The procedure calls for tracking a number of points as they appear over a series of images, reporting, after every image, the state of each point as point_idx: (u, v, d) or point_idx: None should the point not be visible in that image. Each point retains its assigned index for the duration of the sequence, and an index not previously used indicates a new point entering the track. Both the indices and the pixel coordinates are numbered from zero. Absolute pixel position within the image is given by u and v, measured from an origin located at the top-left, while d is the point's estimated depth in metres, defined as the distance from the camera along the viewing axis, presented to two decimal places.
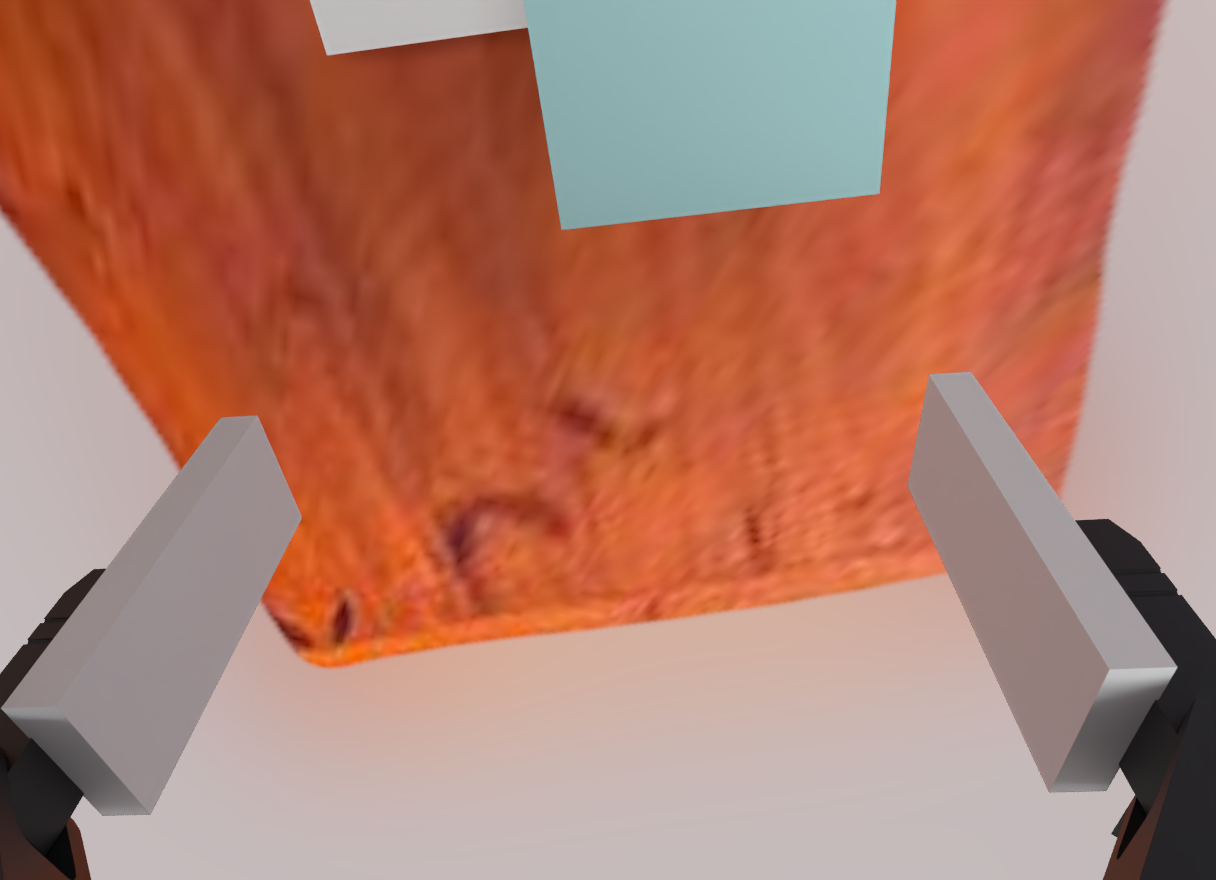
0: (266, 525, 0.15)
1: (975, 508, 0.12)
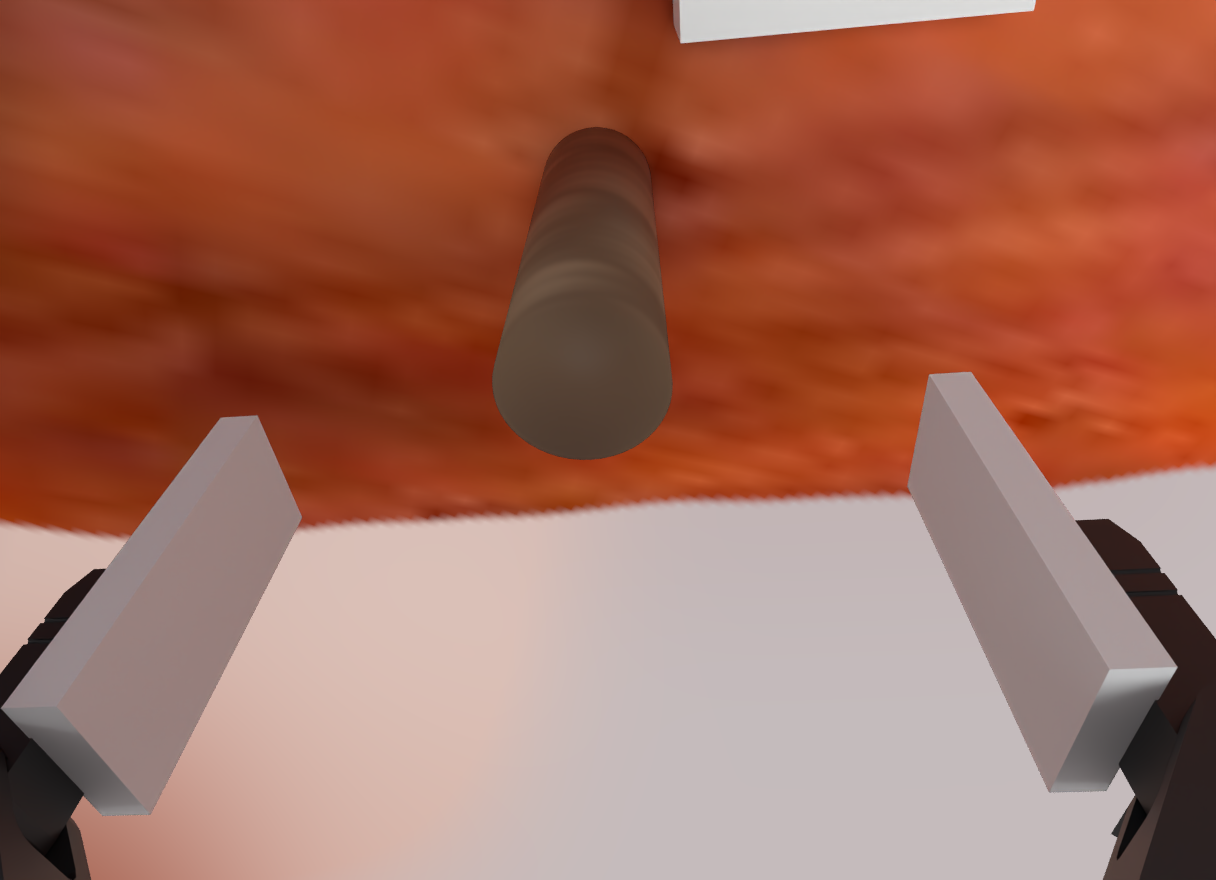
0: (266, 525, 0.15)
1: (975, 507, 0.12)
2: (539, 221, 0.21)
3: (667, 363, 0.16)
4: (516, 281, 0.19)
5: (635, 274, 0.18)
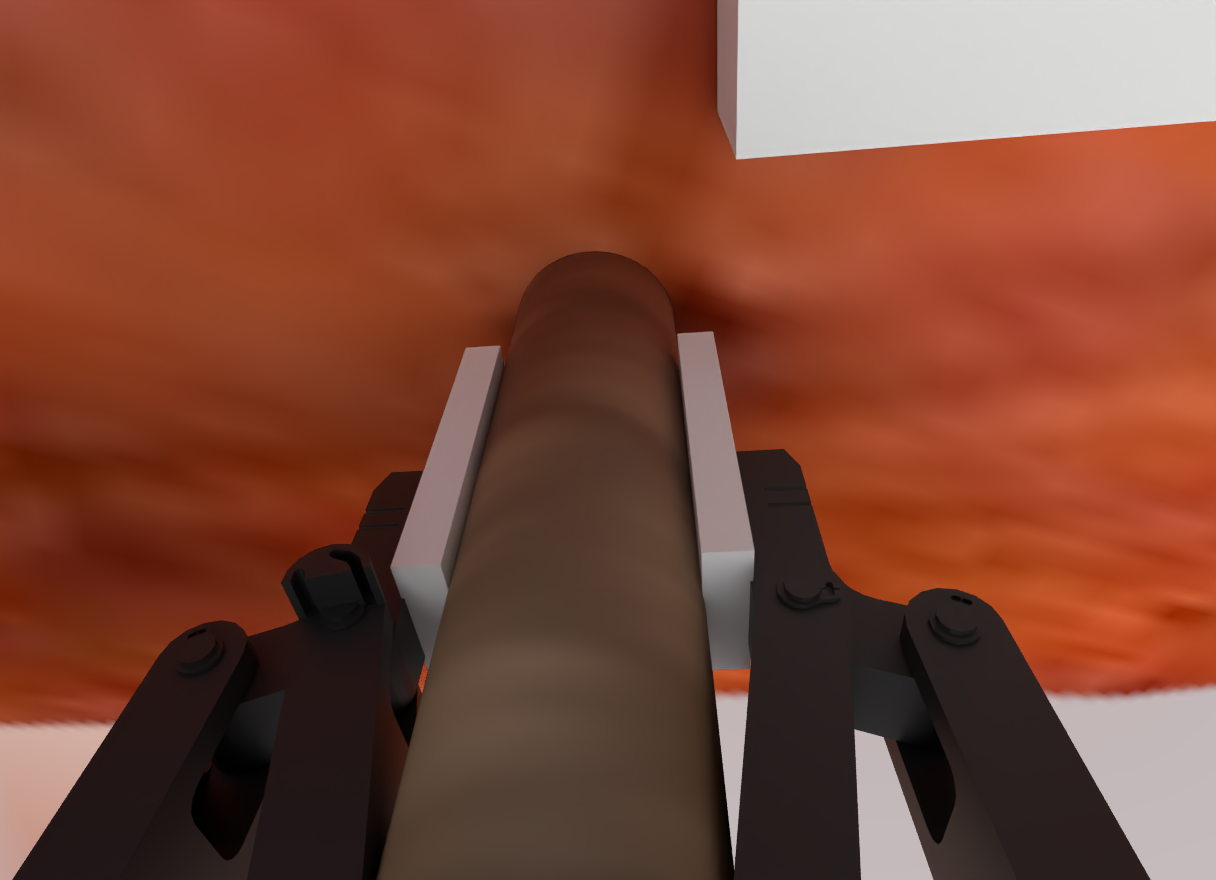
0: None
1: (686, 443, 0.14)
2: (493, 466, 0.13)
3: None
4: (442, 618, 0.11)
5: (661, 655, 0.09)
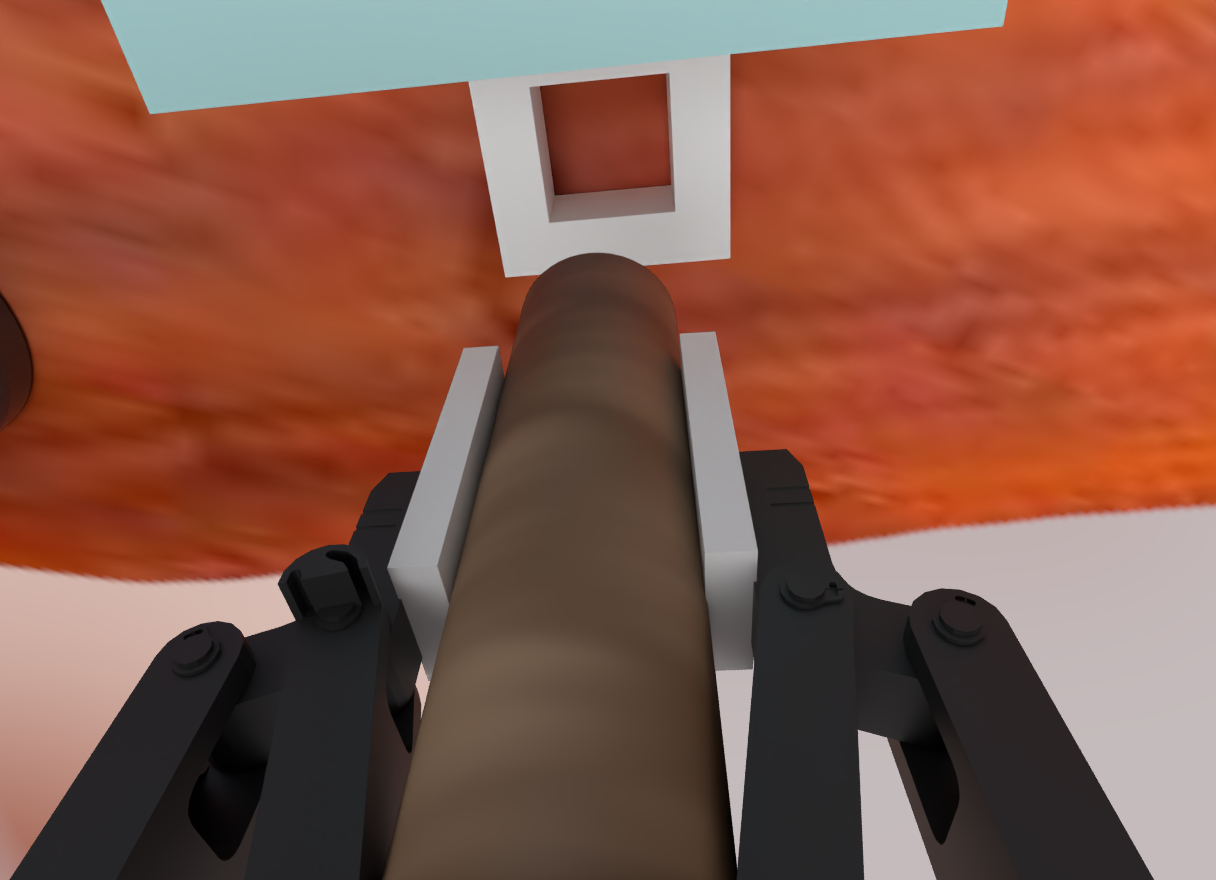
0: None
1: (689, 443, 0.14)
2: (497, 465, 0.13)
3: None
4: (448, 615, 0.11)
5: (664, 652, 0.09)
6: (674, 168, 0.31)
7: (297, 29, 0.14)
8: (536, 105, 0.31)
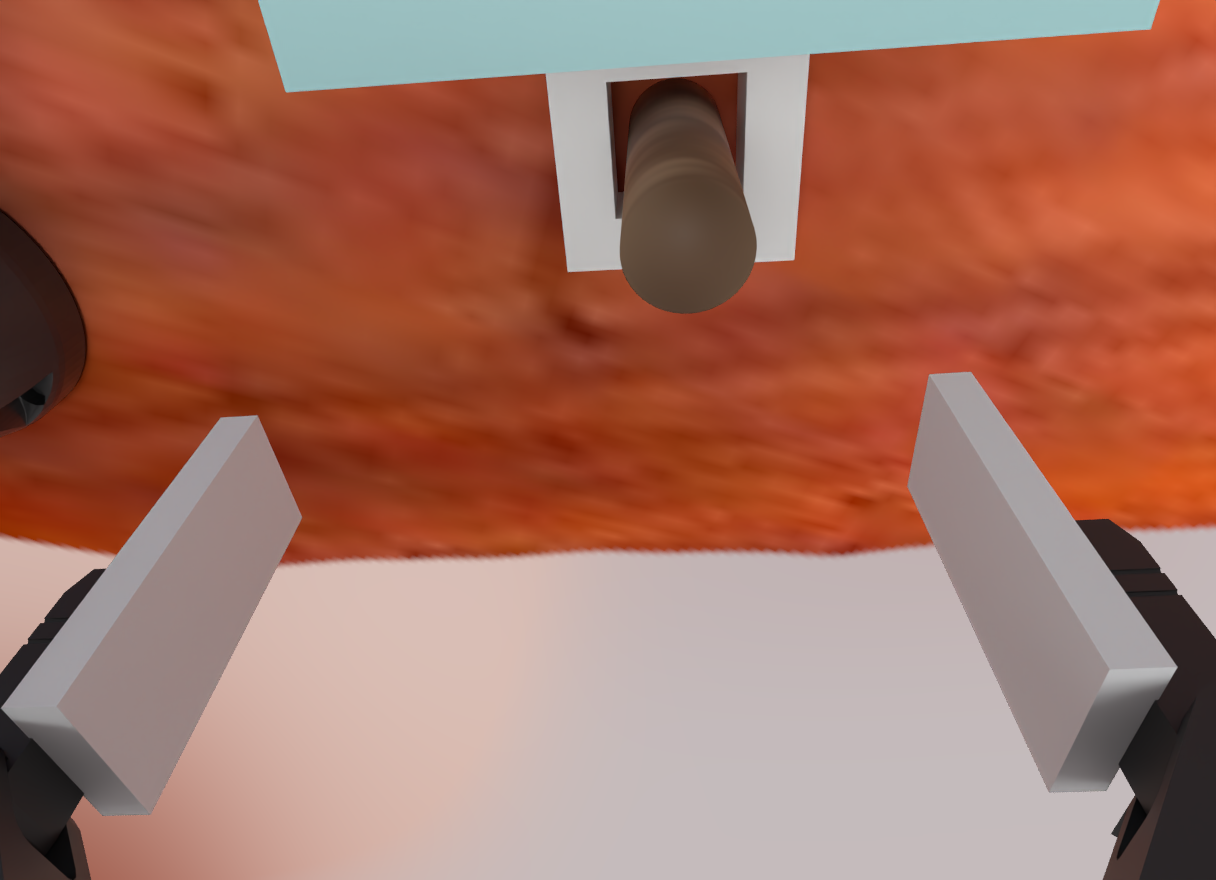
0: (266, 525, 0.15)
1: (975, 507, 0.12)
2: (641, 141, 0.27)
3: (754, 230, 0.22)
4: (628, 181, 0.25)
5: (726, 170, 0.23)
6: (745, 168, 0.31)
7: (442, 11, 0.14)
8: (609, 101, 0.31)
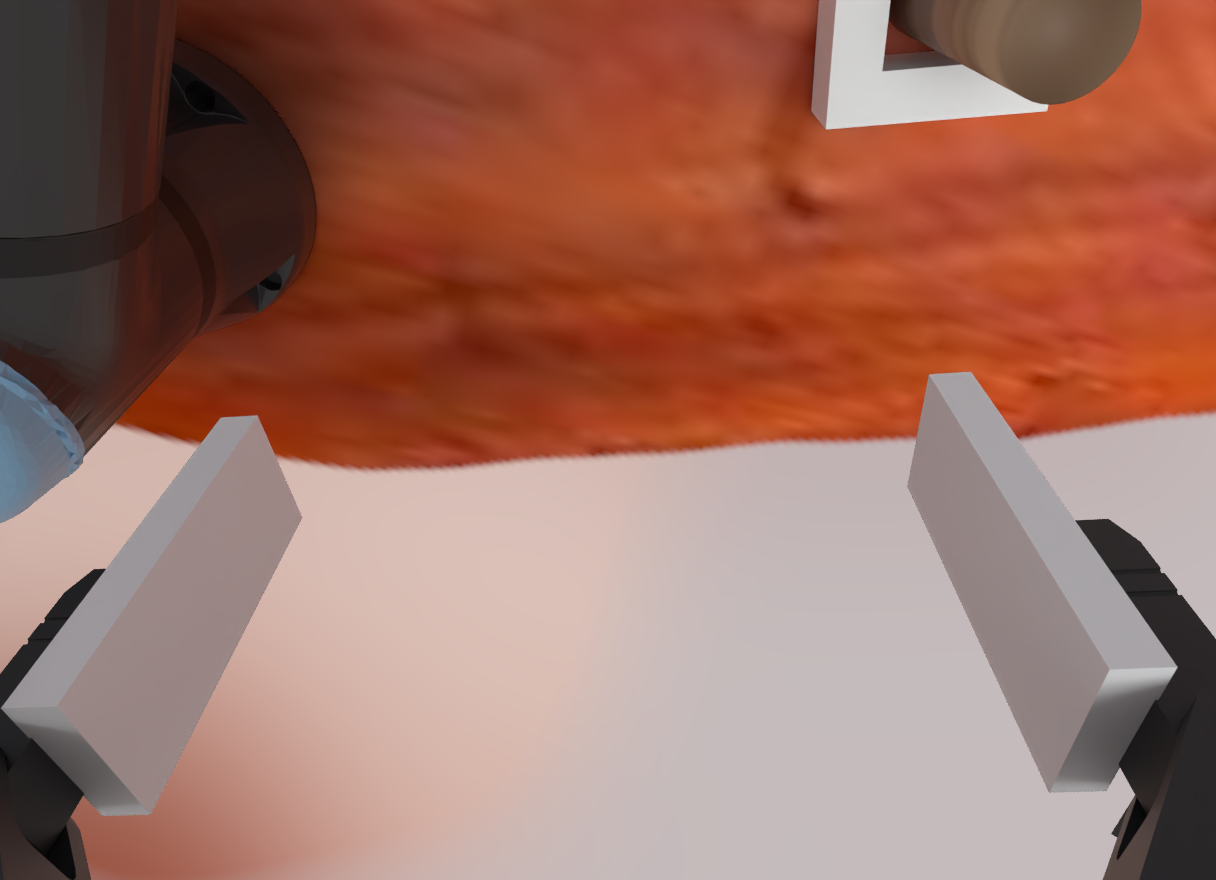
0: (266, 525, 0.15)
1: (975, 508, 0.12)
2: None
3: (1140, 11, 0.23)
4: None
5: None
6: None
7: None
8: None
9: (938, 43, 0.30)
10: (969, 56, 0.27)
